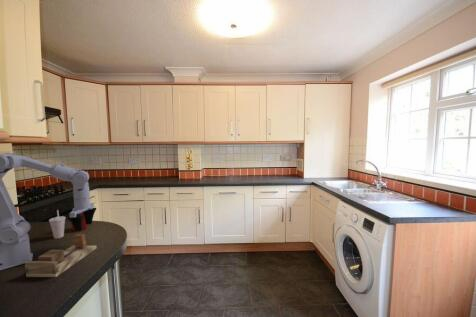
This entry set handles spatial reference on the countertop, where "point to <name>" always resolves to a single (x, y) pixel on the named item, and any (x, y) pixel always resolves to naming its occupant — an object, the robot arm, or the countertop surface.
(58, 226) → the smoothie
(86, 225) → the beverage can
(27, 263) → the lane shelf
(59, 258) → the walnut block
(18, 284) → the countertop surface
